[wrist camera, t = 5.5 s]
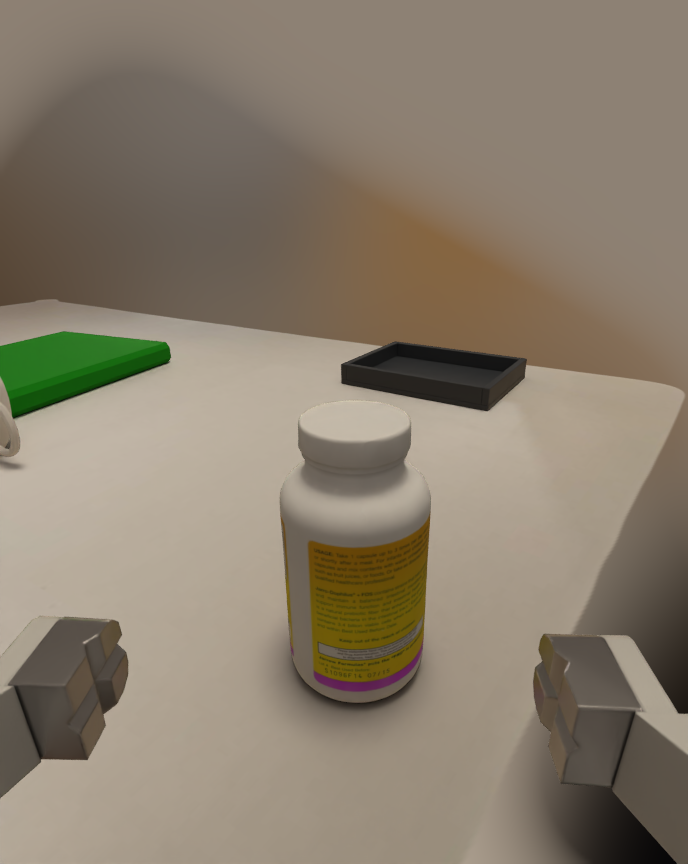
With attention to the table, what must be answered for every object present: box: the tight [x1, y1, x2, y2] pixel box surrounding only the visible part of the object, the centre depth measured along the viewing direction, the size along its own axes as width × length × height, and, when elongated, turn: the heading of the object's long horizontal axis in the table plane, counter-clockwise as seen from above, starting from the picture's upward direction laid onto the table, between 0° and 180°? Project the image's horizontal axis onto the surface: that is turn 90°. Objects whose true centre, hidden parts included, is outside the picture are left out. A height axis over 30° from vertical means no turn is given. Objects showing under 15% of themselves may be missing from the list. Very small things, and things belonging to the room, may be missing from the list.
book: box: [0, 331, 171, 418], centre depth 70 cm, size 22×28×3 cm
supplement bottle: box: [280, 400, 431, 703], centre depth 24 cm, size 7×7×13 cm
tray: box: [341, 342, 527, 411], centre depth 67 cm, size 20×15×3 cm
